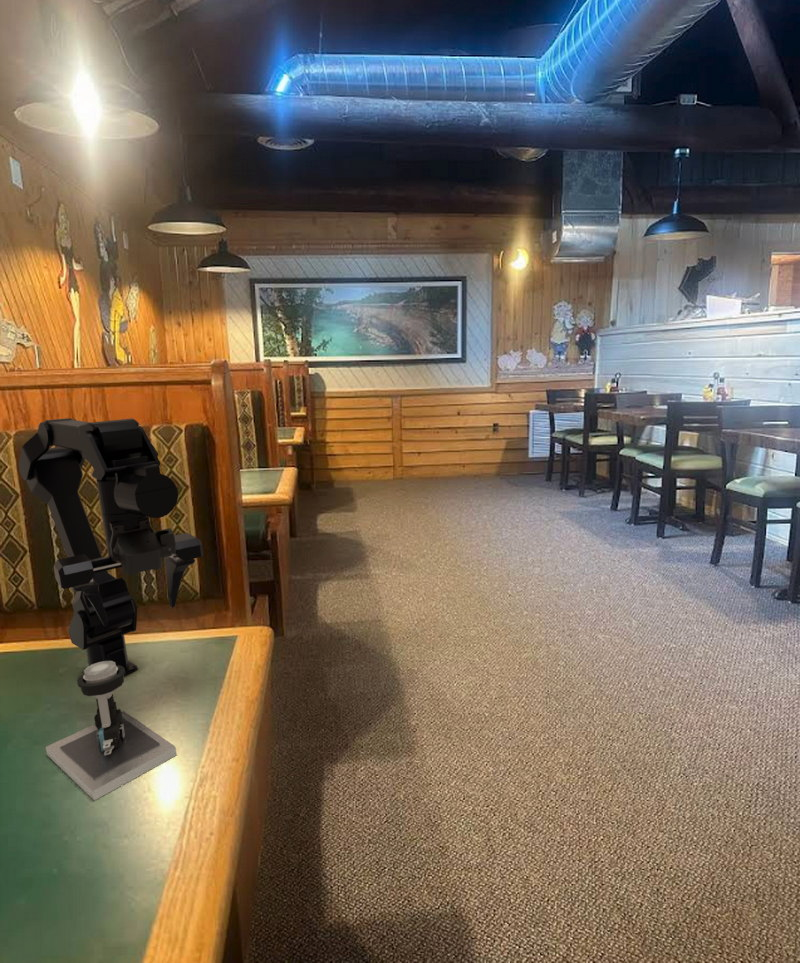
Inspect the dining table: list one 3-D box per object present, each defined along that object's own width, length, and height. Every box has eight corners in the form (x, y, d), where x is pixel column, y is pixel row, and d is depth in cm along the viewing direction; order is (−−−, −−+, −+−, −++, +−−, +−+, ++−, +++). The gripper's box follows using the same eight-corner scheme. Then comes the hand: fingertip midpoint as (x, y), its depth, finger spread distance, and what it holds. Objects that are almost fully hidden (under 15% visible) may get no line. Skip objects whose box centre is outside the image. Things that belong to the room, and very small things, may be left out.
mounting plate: (47, 755, 77) (45, 745, 76) (124, 718, 84) (123, 709, 84) (94, 800, 68) (92, 789, 67) (176, 755, 75) (175, 745, 75)
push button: (131, 753, 73) (119, 677, 72) (82, 764, 72) (69, 687, 70) (136, 724, 80) (125, 654, 78) (92, 734, 78) (80, 662, 76)
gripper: (57, 534, 72) (78, 655, 75) (210, 505, 83) (223, 612, 86) (44, 519, 81) (63, 629, 84) (184, 496, 92) (197, 593, 95)
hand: (140, 615), depth 87 cm, fingers open, 9 cm apart
